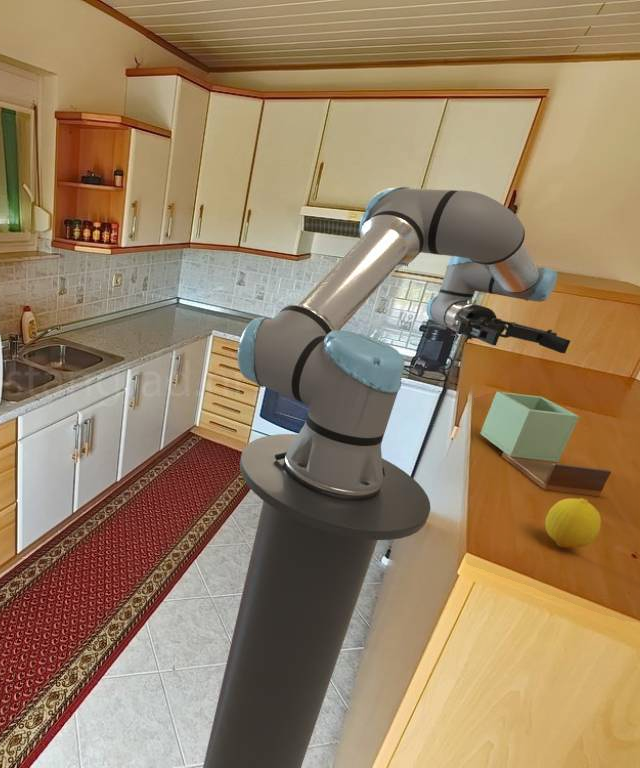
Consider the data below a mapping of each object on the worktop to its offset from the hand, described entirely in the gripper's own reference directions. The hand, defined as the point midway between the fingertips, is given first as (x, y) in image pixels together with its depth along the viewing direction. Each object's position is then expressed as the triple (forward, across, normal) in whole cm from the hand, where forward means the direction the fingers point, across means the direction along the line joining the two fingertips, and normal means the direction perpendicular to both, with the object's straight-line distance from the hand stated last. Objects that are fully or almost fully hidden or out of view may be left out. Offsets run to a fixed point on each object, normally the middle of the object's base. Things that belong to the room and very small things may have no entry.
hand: (531, 342), depth 98 cm
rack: (+16, 0, +21) cm, 27 cm away
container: (+7, 0, +20) cm, 21 cm away
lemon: (+39, -14, +22) cm, 47 cm away
